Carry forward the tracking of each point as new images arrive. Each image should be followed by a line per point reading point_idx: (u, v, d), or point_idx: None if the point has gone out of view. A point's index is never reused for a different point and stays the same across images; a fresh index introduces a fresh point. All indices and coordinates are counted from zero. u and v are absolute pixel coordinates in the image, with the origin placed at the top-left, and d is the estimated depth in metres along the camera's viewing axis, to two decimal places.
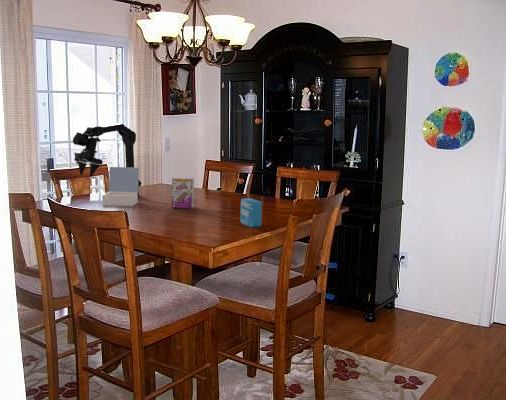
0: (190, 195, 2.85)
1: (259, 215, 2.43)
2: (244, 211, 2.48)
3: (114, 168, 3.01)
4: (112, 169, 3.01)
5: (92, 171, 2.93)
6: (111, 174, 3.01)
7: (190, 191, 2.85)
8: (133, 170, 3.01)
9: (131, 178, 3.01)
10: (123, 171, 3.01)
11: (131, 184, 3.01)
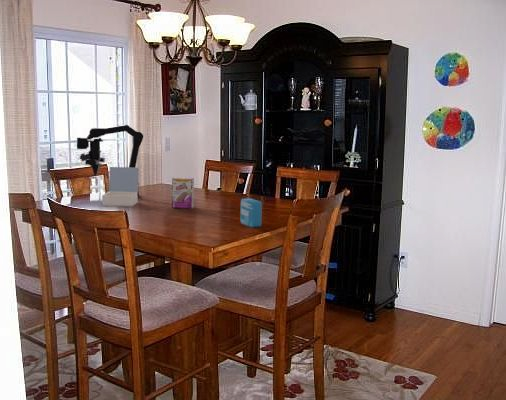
0: (190, 195, 2.85)
1: (259, 215, 2.43)
2: (244, 211, 2.48)
3: (114, 168, 3.01)
4: (112, 169, 3.01)
5: (94, 171, 3.14)
6: (111, 174, 3.01)
7: (190, 191, 2.85)
8: (133, 170, 3.01)
9: (131, 178, 3.01)
10: (123, 171, 3.01)
11: (131, 184, 3.01)
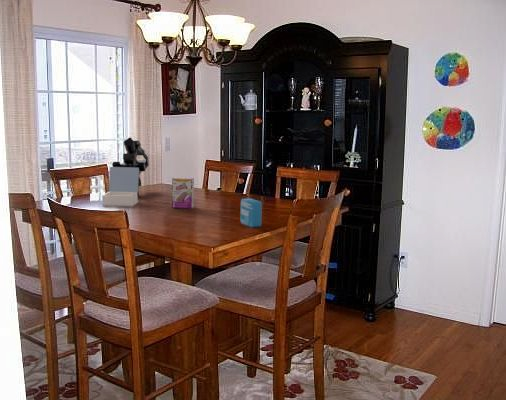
0: (190, 195, 2.85)
1: (259, 215, 2.43)
2: (244, 211, 2.48)
3: (114, 168, 3.01)
4: (112, 169, 3.01)
5: None
6: (111, 174, 3.01)
7: (190, 191, 2.85)
8: (133, 170, 3.01)
9: (131, 178, 3.01)
10: (123, 171, 3.01)
11: (131, 184, 3.01)
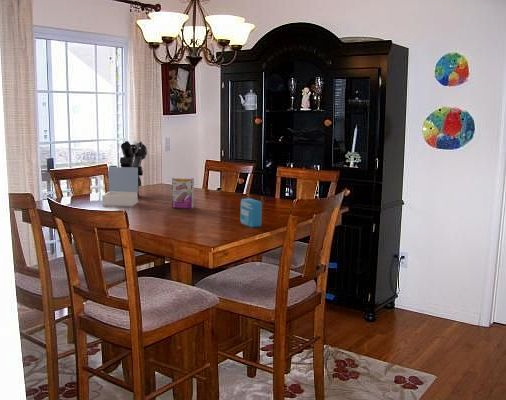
0: (190, 195, 2.85)
1: (259, 215, 2.43)
2: (244, 211, 2.48)
3: (113, 168, 2.99)
4: (110, 169, 2.99)
5: None
6: (110, 174, 2.99)
7: (190, 191, 2.85)
8: (132, 170, 2.99)
9: (130, 178, 3.00)
10: (122, 171, 2.99)
11: (131, 184, 3.00)
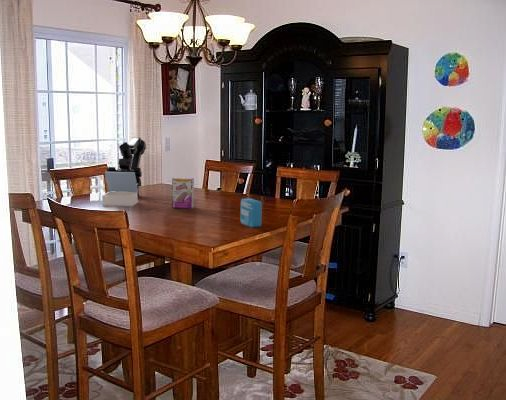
0: (190, 195, 2.85)
1: (259, 215, 2.43)
2: (244, 211, 2.48)
3: (109, 173, 2.92)
4: (107, 174, 2.92)
5: None
6: (108, 178, 2.94)
7: (190, 191, 2.85)
8: (129, 175, 2.93)
9: (129, 181, 2.96)
10: (119, 176, 2.93)
11: (130, 186, 2.98)
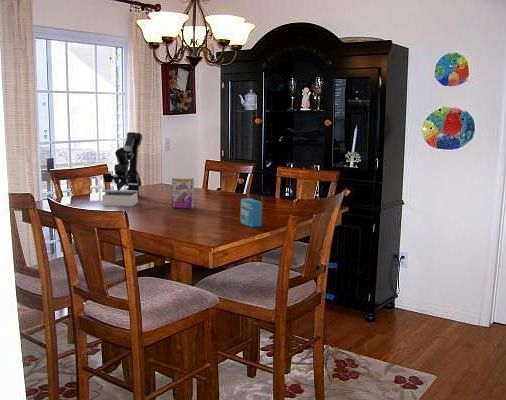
0: (190, 195, 2.85)
1: (259, 215, 2.43)
2: (244, 211, 2.48)
3: (107, 191, 2.88)
4: (104, 191, 2.88)
5: (121, 186, 2.91)
6: None
7: (190, 191, 2.85)
8: None
9: None
10: None
11: None
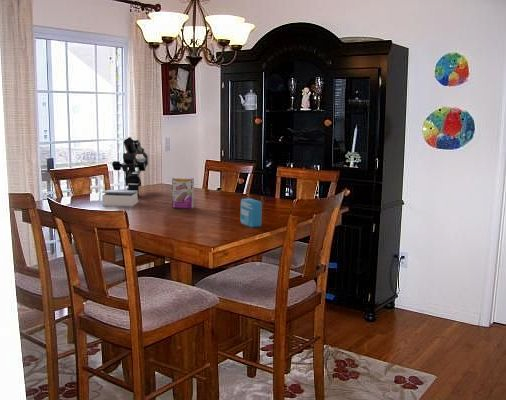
0: (190, 195, 2.85)
1: (259, 215, 2.43)
2: (244, 211, 2.48)
3: (107, 192, 2.88)
4: (104, 192, 2.88)
5: (129, 173, 3.09)
6: None
7: (190, 191, 2.85)
8: None
9: None
10: (117, 192, 2.89)
11: None
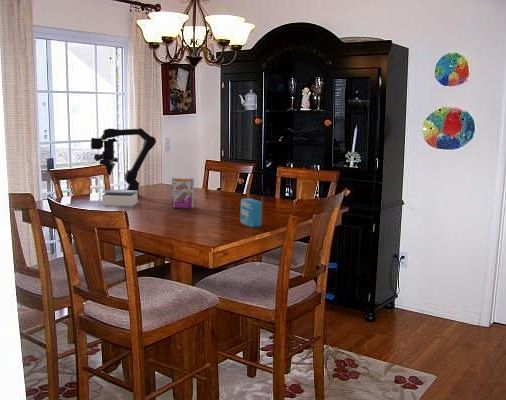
0: (190, 195, 2.85)
1: (259, 215, 2.43)
2: (244, 211, 2.48)
3: (107, 192, 2.88)
4: (104, 192, 2.88)
5: (108, 170, 3.16)
6: None
7: (190, 191, 2.85)
8: None
9: None
10: (117, 192, 2.89)
11: None
